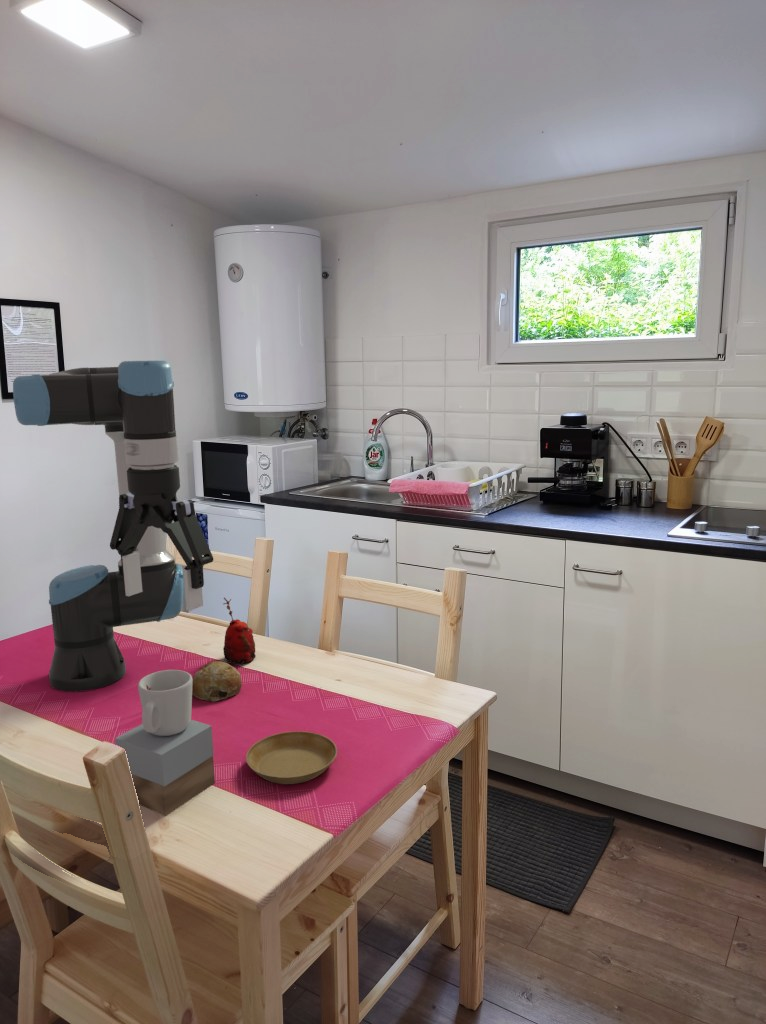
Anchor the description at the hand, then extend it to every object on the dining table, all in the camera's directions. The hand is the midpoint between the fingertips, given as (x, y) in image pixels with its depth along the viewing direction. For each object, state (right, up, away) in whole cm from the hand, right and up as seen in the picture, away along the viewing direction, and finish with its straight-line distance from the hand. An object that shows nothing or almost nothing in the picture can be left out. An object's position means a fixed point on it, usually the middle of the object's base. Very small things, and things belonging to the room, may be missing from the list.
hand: (163, 600), depth 115 cm
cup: (+1, -20, -3) cm, 20 cm away
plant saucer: (+19, -28, +6) cm, 35 cm away
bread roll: (0, -23, +35) cm, 41 cm away
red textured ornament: (+2, -19, +50) cm, 54 cm away
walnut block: (+1, -29, 0) cm, 30 cm away
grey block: (+1, -25, -1) cm, 25 cm away
